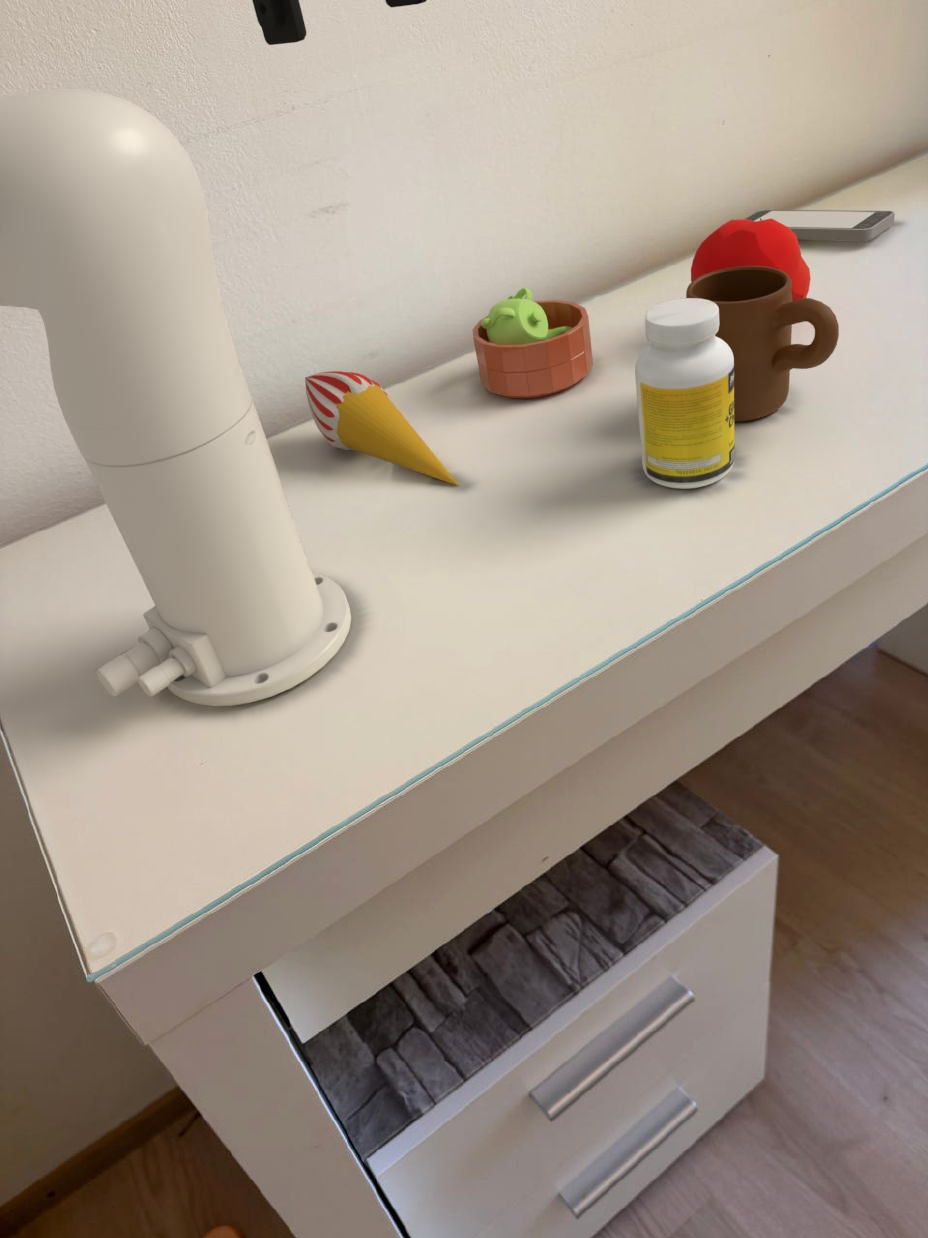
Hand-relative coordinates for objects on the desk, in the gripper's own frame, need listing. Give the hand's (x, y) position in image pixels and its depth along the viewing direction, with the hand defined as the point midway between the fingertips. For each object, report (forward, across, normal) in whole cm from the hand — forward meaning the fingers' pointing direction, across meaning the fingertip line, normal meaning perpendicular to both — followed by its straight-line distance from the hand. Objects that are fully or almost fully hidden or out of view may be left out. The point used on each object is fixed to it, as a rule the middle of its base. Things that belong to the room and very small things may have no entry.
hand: (349, 22), depth 55 cm
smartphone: (+29, -55, +10) cm, 63 cm away
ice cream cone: (+31, +1, -7) cm, 31 cm away
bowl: (+30, -16, -4) cm, 34 cm away
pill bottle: (+31, -8, +17) cm, 36 cm away
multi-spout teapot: (+29, -16, -4) cm, 33 cm away
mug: (+31, -18, +17) cm, 39 cm away
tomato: (+27, -27, +8) cm, 39 cm away
